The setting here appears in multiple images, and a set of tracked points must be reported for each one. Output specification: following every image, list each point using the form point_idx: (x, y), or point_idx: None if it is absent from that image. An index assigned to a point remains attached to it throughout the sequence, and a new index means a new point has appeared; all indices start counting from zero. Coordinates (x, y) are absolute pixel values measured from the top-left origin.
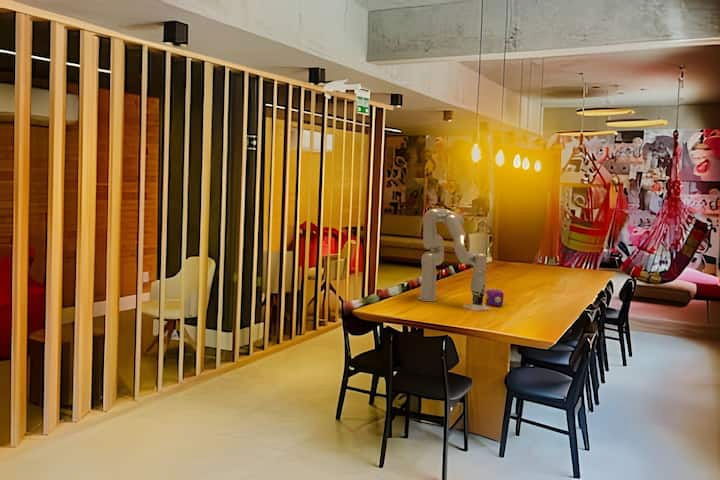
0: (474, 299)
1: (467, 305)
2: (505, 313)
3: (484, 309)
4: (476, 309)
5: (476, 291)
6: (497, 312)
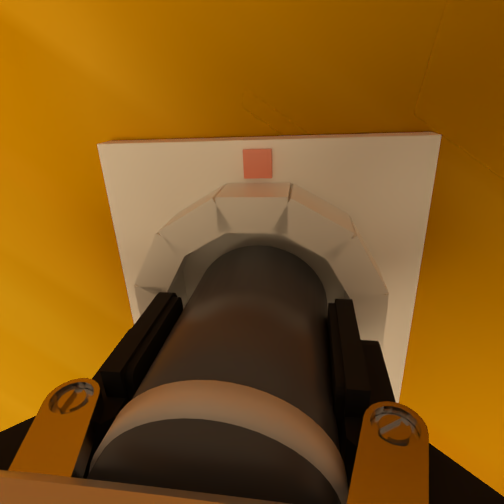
0: (238, 300)
1: (410, 208)
2: (10, 408)
3: (133, 303)
4: (103, 173)
5: (26, 478)
6: (47, 369)
